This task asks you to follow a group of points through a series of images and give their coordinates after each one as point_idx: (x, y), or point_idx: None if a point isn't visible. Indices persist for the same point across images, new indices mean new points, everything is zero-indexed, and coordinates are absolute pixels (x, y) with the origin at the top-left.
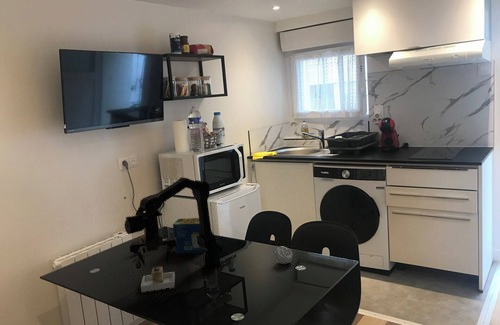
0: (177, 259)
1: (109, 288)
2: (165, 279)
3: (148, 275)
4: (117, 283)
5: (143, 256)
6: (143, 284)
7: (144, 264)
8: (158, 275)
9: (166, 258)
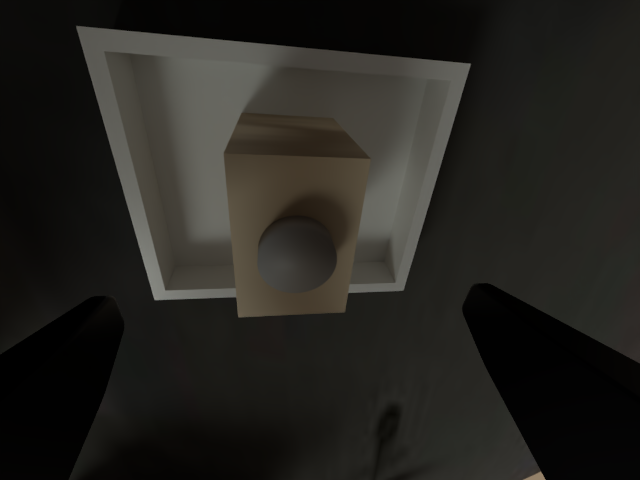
0: (203, 452)
1: (591, 232)
2: None
3: (366, 288)
4: (529, 282)
5: (584, 460)
6: (415, 167)
7: (498, 295)
8: (275, 141)
9: (28, 369)
